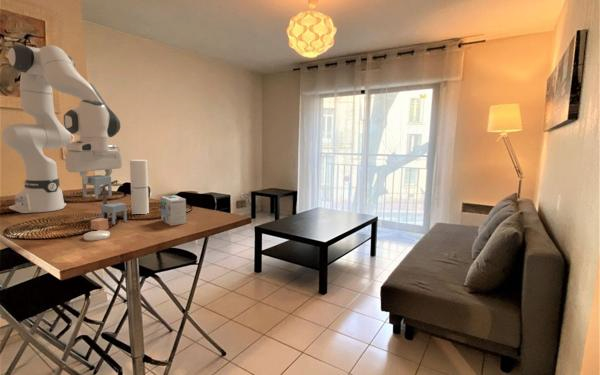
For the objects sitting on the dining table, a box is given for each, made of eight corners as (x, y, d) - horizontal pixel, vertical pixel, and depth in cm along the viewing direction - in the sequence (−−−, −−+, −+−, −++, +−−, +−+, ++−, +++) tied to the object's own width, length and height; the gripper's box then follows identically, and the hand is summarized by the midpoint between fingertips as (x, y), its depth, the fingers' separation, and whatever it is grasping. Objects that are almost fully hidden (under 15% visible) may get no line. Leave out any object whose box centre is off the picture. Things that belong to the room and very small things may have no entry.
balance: (81, 222, 128) (79, 183, 125) (117, 213, 144) (115, 179, 141) (92, 224, 126) (90, 185, 124) (127, 215, 142) (126, 180, 140)
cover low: (83, 196, 116) (82, 176, 115) (99, 193, 123) (98, 175, 121) (96, 198, 114) (95, 178, 113) (111, 195, 121) (111, 176, 119)
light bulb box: (160, 220, 137) (160, 196, 135) (176, 218, 141) (175, 194, 140) (171, 226, 129) (170, 200, 128) (186, 223, 134) (186, 198, 132)
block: (91, 230, 119) (90, 220, 119) (100, 227, 123) (100, 217, 122) (99, 231, 118) (98, 221, 117) (108, 229, 122) (108, 219, 121)
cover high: (101, 222, 129) (100, 205, 128) (115, 219, 135) (114, 202, 134) (113, 224, 127) (112, 206, 126) (126, 220, 133) (126, 203, 132)
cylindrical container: (141, 215, 143) (140, 161, 139) (128, 214, 144) (126, 160, 140) (152, 212, 150) (150, 160, 146) (139, 210, 151) (137, 159, 147)
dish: (77, 238, 109) (77, 235, 109) (98, 232, 117) (98, 229, 117) (95, 241, 107) (95, 238, 107) (115, 235, 114) (115, 232, 114)
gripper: (113, 144, 126) (114, 178, 128) (61, 145, 107) (63, 184, 109) (125, 145, 124) (126, 179, 126) (74, 146, 105) (77, 186, 107)
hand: (97, 182), depth 118 cm, fingers closed on cover low, 6 cm apart
